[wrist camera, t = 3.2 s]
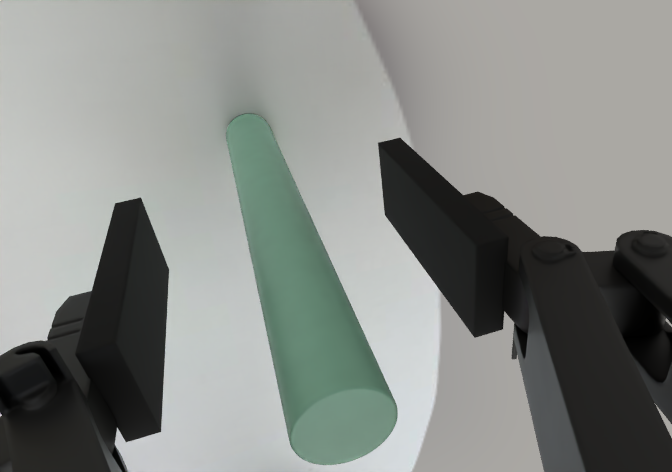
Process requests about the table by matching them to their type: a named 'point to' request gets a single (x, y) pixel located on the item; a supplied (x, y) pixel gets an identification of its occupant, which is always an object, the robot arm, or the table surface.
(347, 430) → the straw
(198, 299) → the table surface
